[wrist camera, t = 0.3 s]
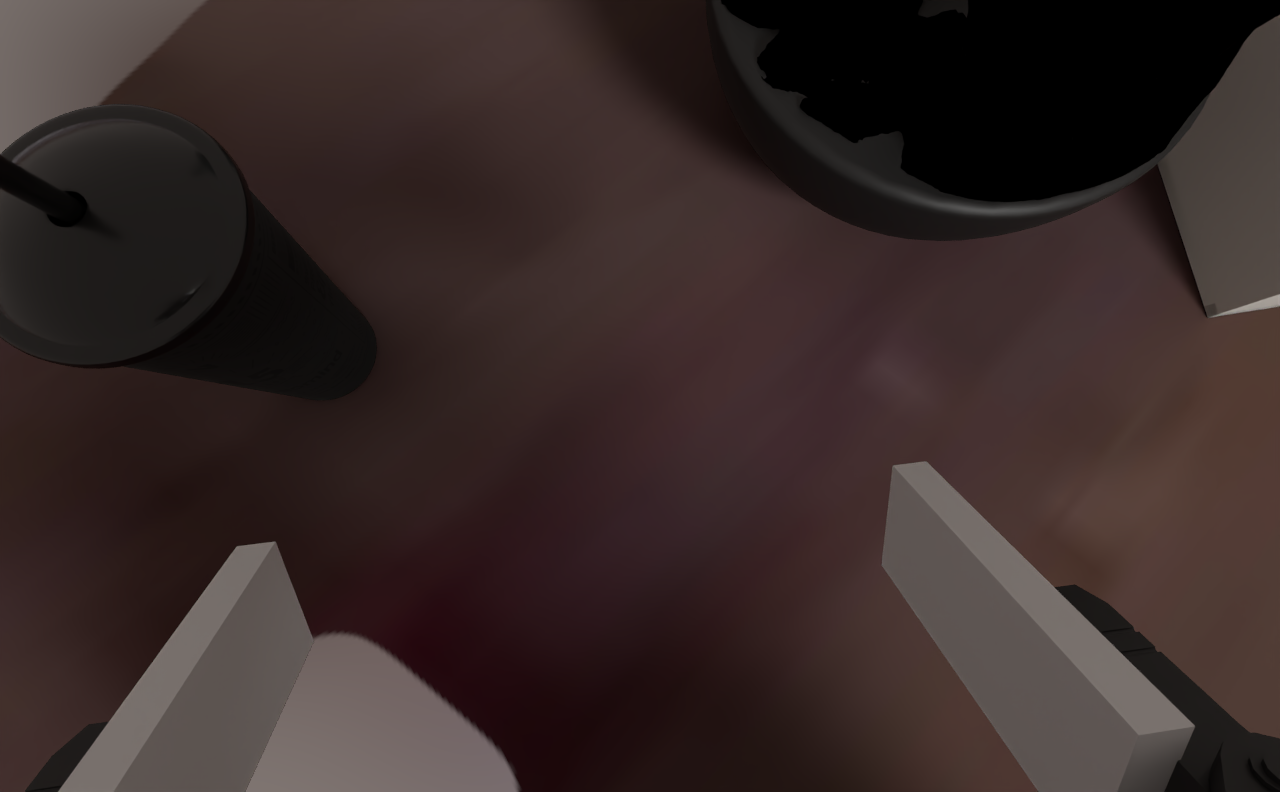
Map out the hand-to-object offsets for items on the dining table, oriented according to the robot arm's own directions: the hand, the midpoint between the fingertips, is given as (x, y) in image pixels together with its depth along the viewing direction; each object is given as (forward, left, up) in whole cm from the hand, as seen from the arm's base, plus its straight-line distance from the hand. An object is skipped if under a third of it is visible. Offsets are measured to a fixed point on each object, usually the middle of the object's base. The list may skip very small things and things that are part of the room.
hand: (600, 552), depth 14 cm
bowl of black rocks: (+19, -17, -16) cm, 30 cm away
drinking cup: (+11, +12, -16) cm, 23 cm away
